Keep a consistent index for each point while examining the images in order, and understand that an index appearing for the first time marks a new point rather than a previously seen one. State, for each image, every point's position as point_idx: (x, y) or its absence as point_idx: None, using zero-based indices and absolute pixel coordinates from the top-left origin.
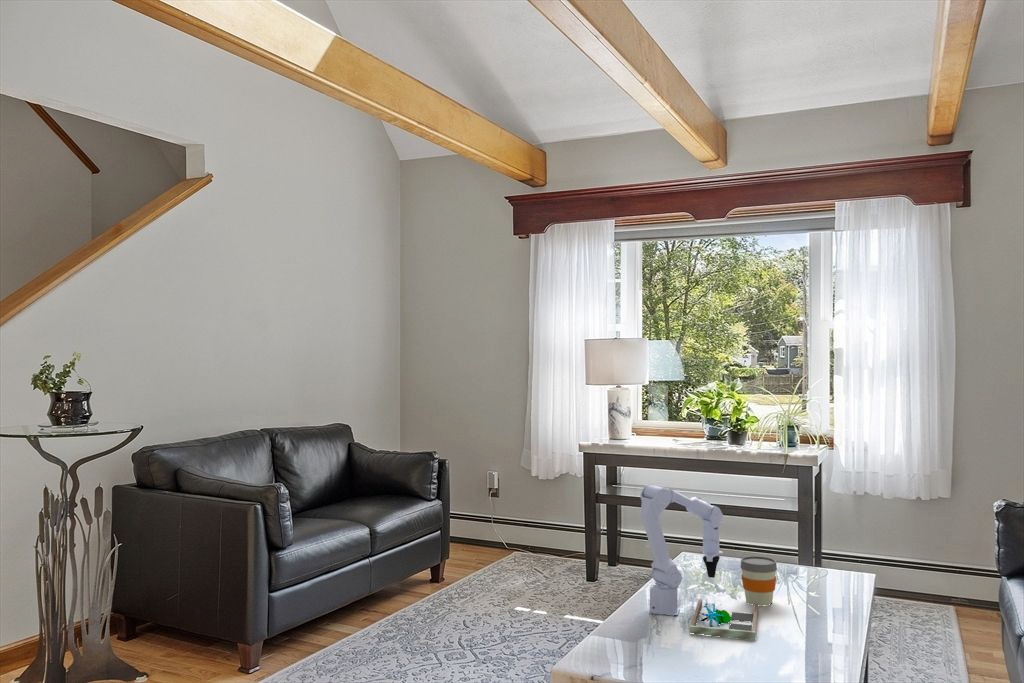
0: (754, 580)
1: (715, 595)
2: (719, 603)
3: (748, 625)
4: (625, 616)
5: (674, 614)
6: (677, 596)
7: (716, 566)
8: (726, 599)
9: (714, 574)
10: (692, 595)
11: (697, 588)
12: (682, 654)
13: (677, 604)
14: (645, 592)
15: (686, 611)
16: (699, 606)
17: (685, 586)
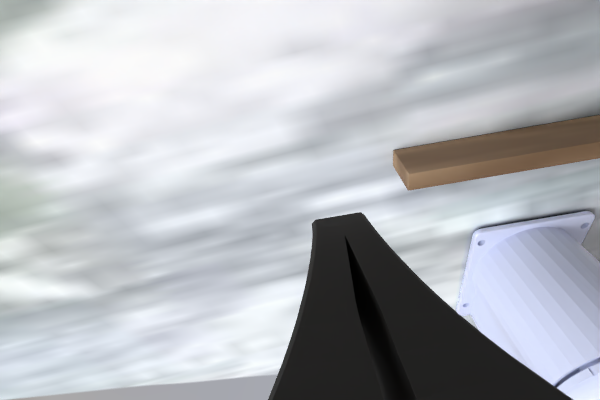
0: None
1: (104, 138)
2: (281, 62)
3: None
4: None
5: (591, 224)
6: (585, 287)
7: (316, 333)
8: (144, 34)
9: (381, 239)
10: (202, 245)
11: (49, 260)
12: None
13: (561, 252)
14: (270, 372)
15: (502, 195)
16: (579, 146)
17: (68, 308)
